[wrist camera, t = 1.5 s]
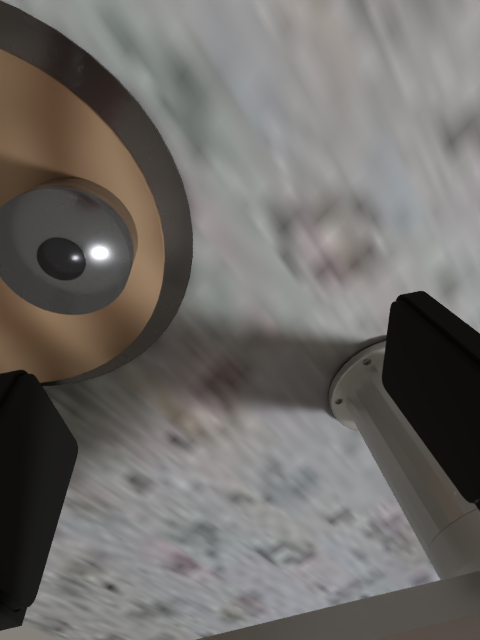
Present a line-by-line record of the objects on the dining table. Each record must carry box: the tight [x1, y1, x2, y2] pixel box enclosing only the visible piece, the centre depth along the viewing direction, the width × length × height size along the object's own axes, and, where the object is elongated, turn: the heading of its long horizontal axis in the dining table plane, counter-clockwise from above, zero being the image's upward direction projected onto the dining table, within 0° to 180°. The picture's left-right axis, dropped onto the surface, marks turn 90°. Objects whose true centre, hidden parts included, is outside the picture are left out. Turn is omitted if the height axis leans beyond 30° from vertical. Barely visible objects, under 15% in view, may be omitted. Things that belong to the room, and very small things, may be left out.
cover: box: [0, 177, 138, 315], centre depth 20 cm, size 7×7×4 cm
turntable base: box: [0, 1, 193, 386], centre depth 24 cm, size 26×26×1 cm
